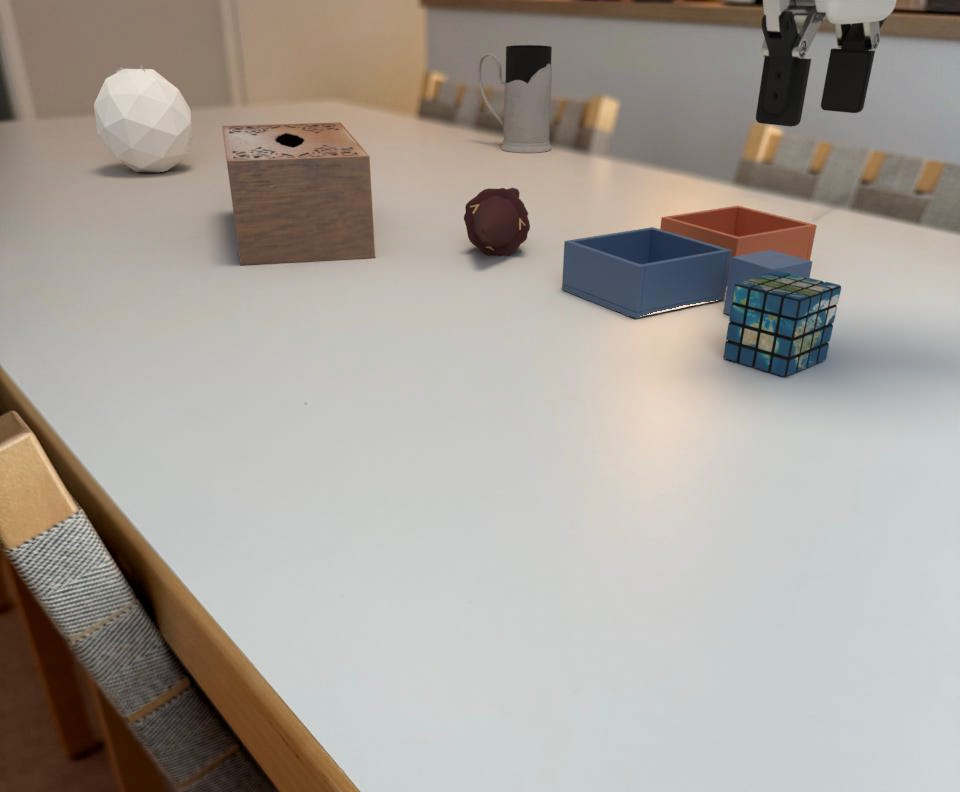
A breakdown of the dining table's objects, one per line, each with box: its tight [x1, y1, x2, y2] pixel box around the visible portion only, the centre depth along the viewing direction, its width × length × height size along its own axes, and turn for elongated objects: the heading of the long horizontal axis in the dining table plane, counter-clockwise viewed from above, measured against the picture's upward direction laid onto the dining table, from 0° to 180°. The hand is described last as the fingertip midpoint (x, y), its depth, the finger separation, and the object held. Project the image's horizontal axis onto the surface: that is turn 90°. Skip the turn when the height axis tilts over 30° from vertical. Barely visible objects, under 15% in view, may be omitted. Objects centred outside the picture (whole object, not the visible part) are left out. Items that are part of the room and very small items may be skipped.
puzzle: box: [723, 271, 842, 378], centre depth 77 cm, size 6×6×6 cm
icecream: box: [463, 187, 531, 257], centre depth 104 cm, size 7×7×15 cm
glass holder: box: [477, 44, 553, 154], centre depth 162 cm, size 9×14×15 cm, turn 57°
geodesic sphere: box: [93, 63, 193, 173], centre depth 143 cm, size 15×14×14 cm
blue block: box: [722, 250, 813, 316], centre depth 87 cm, size 5×5×5 cm
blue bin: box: [561, 226, 732, 319], centre depth 92 cm, size 11×11×5 cm
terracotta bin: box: [659, 205, 818, 284], centre depth 101 cm, size 11×11×5 cm
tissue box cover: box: [221, 122, 376, 266], centre depth 111 cm, size 26×14×10 cm, turn 13°
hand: (810, 117), depth 70 cm, fingers open, 9 cm apart
